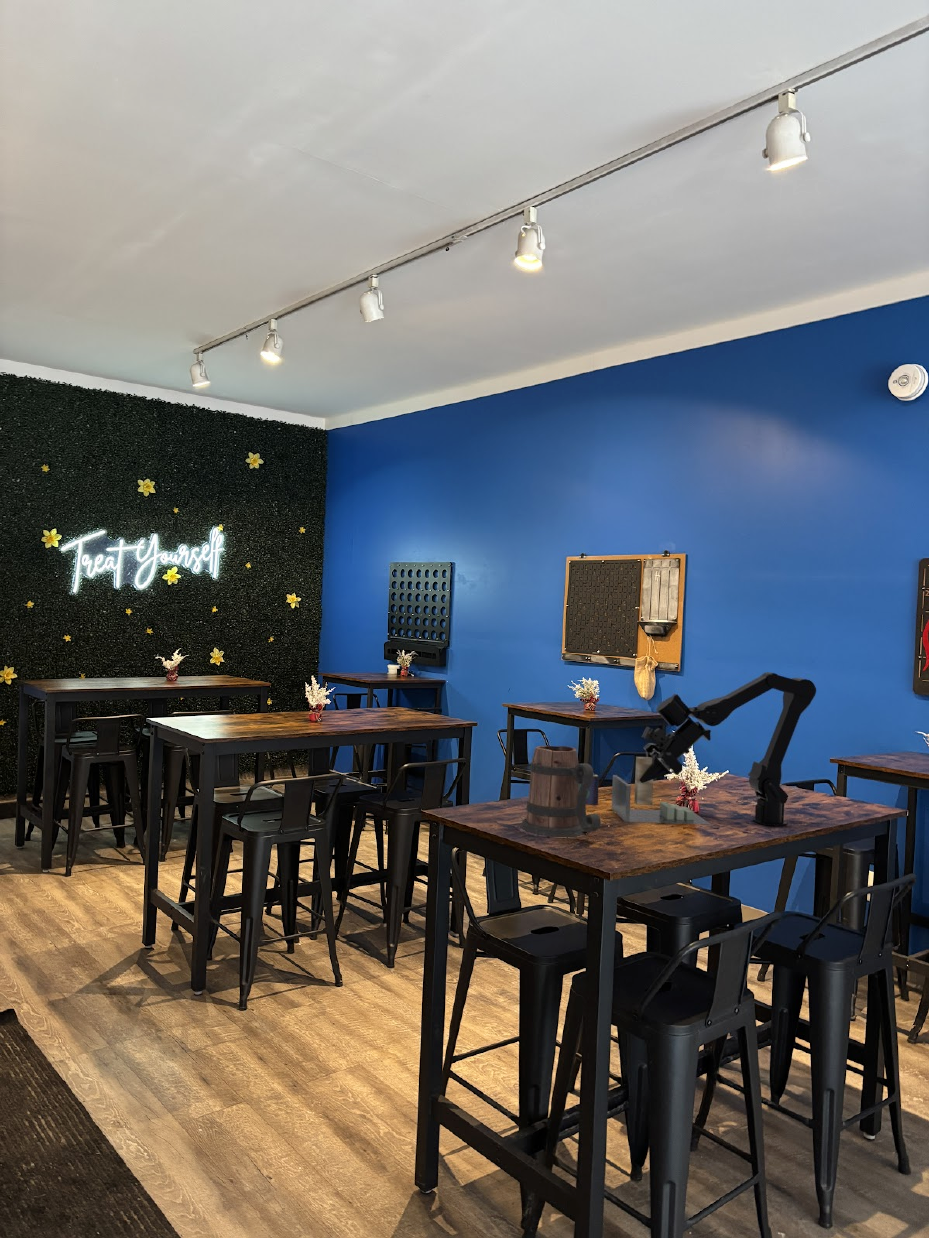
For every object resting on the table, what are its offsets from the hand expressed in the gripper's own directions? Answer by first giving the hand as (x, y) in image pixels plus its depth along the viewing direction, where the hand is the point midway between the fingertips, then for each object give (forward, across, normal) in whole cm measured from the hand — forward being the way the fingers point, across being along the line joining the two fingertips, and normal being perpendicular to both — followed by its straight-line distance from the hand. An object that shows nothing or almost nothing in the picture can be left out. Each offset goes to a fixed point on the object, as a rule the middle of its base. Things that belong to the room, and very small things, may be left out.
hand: (639, 780), depth 242 cm
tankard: (+24, +19, -9) cm, 31 cm away
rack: (+3, 0, +11) cm, 12 cm away
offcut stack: (-1, 0, +14) cm, 14 cm away
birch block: (+3, 0, +5) cm, 6 cm away
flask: (+16, -15, -1) cm, 22 cm away
